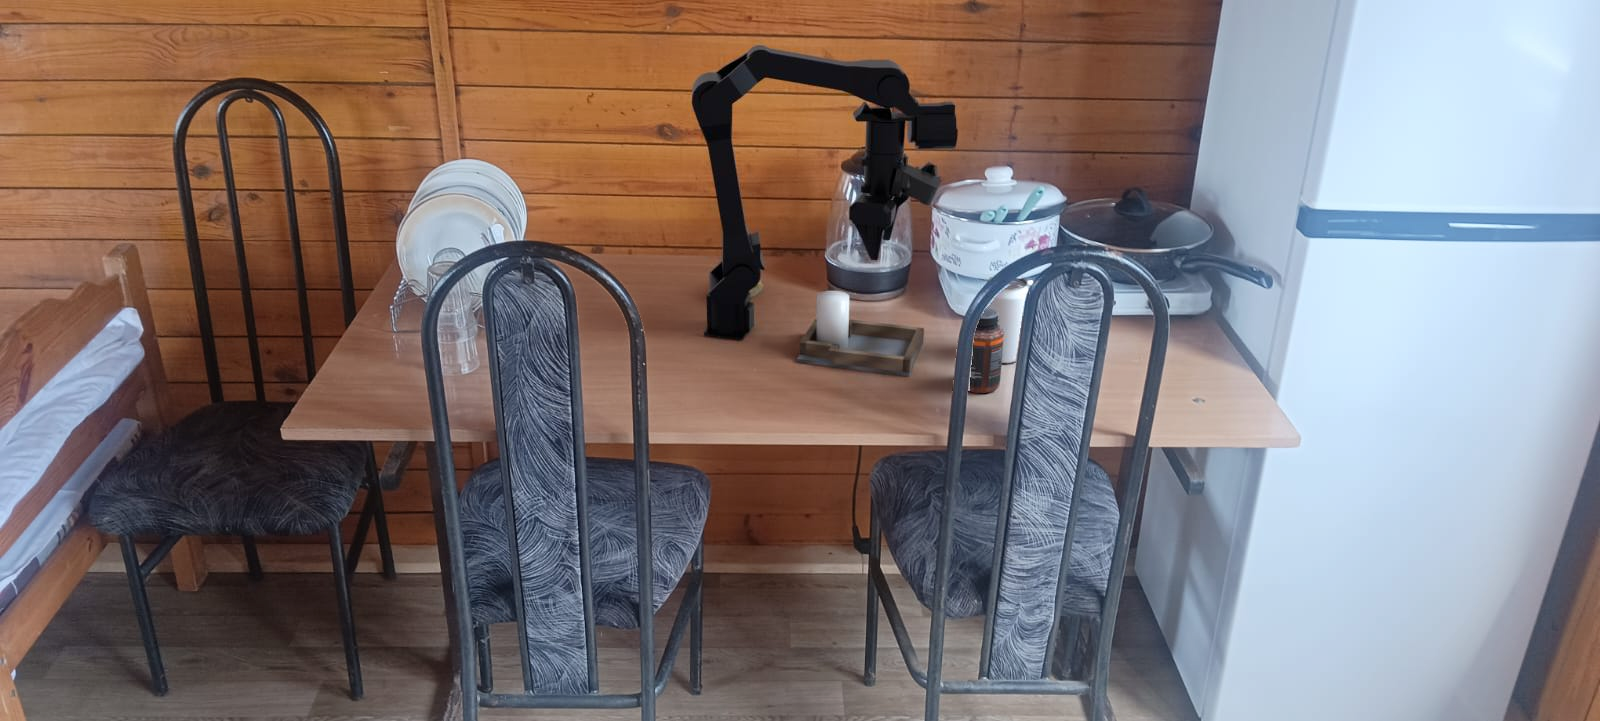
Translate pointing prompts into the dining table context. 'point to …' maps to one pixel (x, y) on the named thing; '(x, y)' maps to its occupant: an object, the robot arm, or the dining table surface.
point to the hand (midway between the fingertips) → (880, 249)
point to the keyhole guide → (866, 348)
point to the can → (1010, 316)
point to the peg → (833, 318)
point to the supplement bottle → (987, 353)
